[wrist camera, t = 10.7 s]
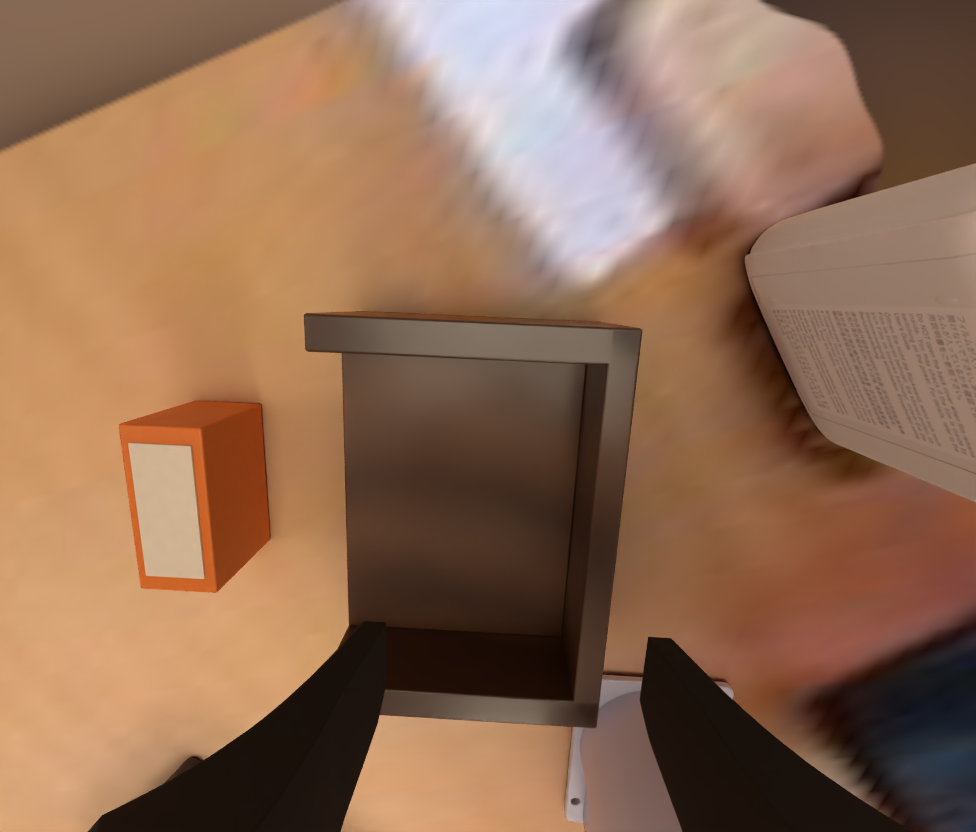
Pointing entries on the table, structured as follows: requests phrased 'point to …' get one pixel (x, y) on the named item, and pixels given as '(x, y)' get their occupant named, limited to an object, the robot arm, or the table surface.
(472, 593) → the shelf
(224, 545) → the packet
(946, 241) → the white piece
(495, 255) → the table surface
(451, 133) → the table surface
